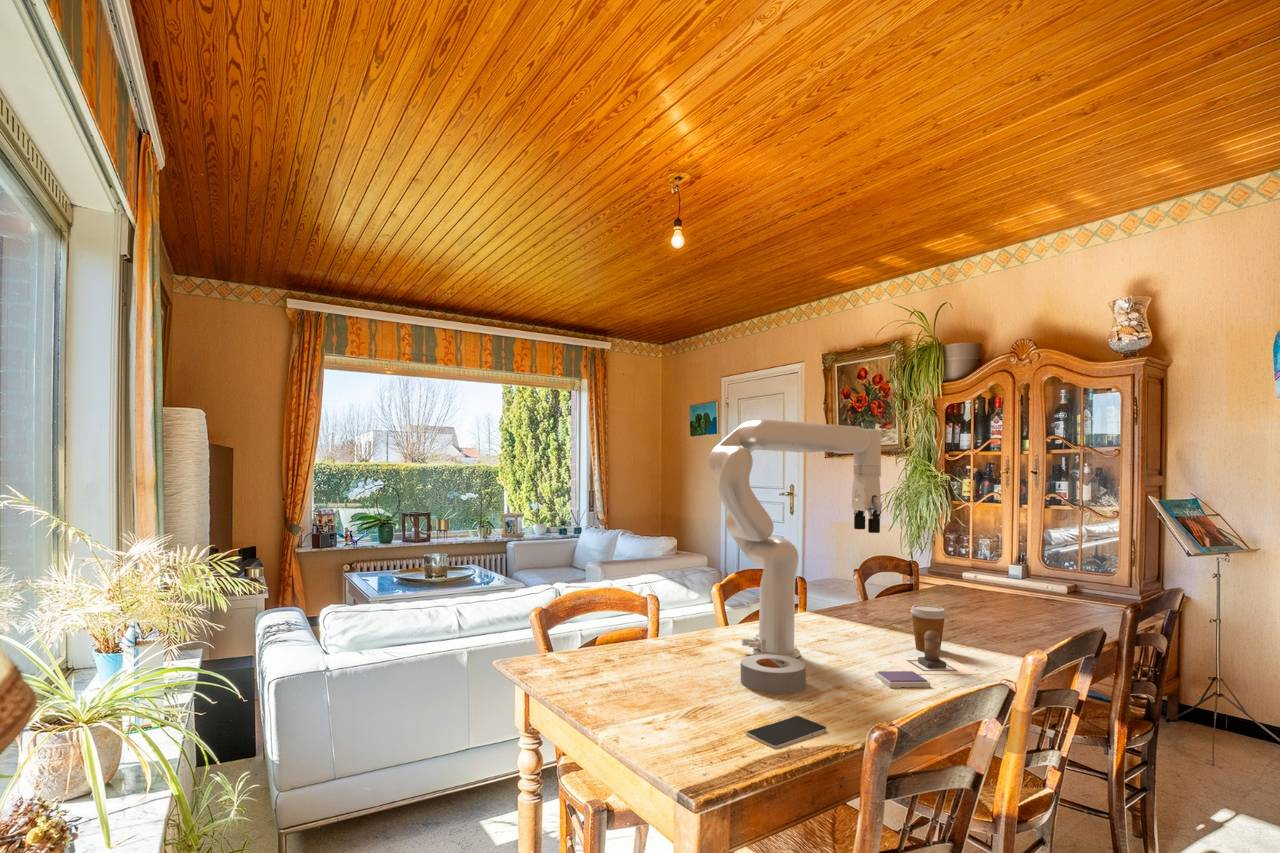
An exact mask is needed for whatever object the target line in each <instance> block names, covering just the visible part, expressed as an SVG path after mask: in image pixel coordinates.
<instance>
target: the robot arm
mask: <svg viewBox="0 0 1280 853" xmlns="http://www.w3.org/2000/svg"><path fill="white" fill-rule="evenodd" d="M756 450H757V451H759V450H760V451H771V452H772V451H775V452H776V451H777V452H791V453H821V452H822V453H824V452H828V453H830V452H833V453H834V454H846V455H847V454H853V477H854V478H853V481H852V492H851V508H852V510H853V515H854V516H853V529H854V530H866V515H865V513H866V511H867V513H868V516H869V518H868V519H867V522H868V523H867V529H868V530H867V532H868V533H869V534H879V533H881V517H882V516H881V514H882V508H883V503H882V501H881V500H882V498H881V497H882V495H881V481H880V480H881V479H880V478H881V477H882V474H881V473H882V433H881V431H880V430H879V429H875V428H863V427H861V426H857V425H856V426H855V425H844V424H830V423H829V424H826V423H825V424H824V423H817V422H816V423H815V422H807V421H806V422H805V421H804V422H803V421H791V420H790V421H789V420H778V419H765V418H764V419H761V418H760V419H754V420H747V421H745V422H742V423H741V424H740V425H739V426H738V427H737V428H735V429H734V430H733V431H731V433H730V434H728V435H727V436H726V437H725V438H724V439H723V440H721V441H720V442H719V443H718V444H717V445H715V447H714V448H713V449H712V450H711V451H710V454H709V455H708V459H707V460H708V466H709V468H710V470H711V471H712V473H713V474H715V475H718V476H720V477H719V483H718V484H719V485H718V491H719V496H720V499H721V502H722V504H723V506H724V507H725V509H726V510H727V512H728V513H727V515H726V523H725V524H726V528H727V531H728V532H729V534H730V536H731V537H732V539H733V540H734V541H735V543H736V544H737V546H738V547H739V549H740V550H741V551H742V552H741V553H743V554H744V556H745V557H746V558H747V559H748V561H749V562H750V563H751V564H753V566H755V567H757V568H760V569H763V571H762V576H761V578H760V583H759V606H758V607H759V614H758V617H759V618H758V627H759V628H758V634H755V637H752V638H741V646H742V647H748V648H753V649H752V652H753V655H760V654H771V655H781V656H787V657H792V658H796V659H798V658H799V657H800V656H801V651H800V649H799V648H796V647H795V612H796V611H795V609H796V608H795V607H796V606H795V604H796V602H795V601H796V600H795V599H796V596H795V594H796V592H795V590H796V580H797V579H796V578H797V572H798V567H799V561H800V560H799V553H798V550H797V548H796V546H795V545H794V544H793V543H792V542H791V541H789V540H788V539H785V538H783V537H782V538H781V537H778V536H773V533H774V522H773V520H772V518H771V516H770V515H769V513H768V511H767V510H766V509H765V507H764V506H763V504H762V503H761V502H760V500H759V499H758V497H757V496H756V495H755V493H754V491H753V489H752V488H751V485H750V475H751V472H752V468H753V464H754V463H753V462H754V461H753V455H752V453H753V452H754V451H756Z"/></svg>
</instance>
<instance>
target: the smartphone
mask: <svg viewBox="0 0 1280 853" xmlns="http://www.w3.org/2000/svg"><path fill="white" fill-rule="evenodd" d="M826 732H827V726H825V725H822V724H820V723H819V722H814V721H812V720H810V719H807V718H805V717H803V716H800V715H794V716H791V717H788V718H784V719H782V720H778V721H775V722H773V723H768V724H766V725H763V726H760V727H755V728H754V729H751V730H747V731H746V732H745V736H747V737H749V738H751V739H753V740H755V741H757V742H759V743H762V744H764V745H766V746H768V747H769V748H772V749H775V750H776V749H779V748H782V747H786V746H789V745H792V744H794V743H797V742H801V741H803V740H806V739H809V738H810V739H811V738H812V737H817V736H819V735H822V734H823V733H824V734H825V733H826Z"/></svg>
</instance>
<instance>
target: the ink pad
mask: <svg viewBox="0 0 1280 853" xmlns="http://www.w3.org/2000/svg"><path fill="white" fill-rule="evenodd" d="M874 677H876V679H878V680H879V681H880V682H881V683H882V684H884V685H885V686H886V685H887V686H886V687H888V688H889V689H891V688H892V689H893V688H894V689H895V688H896V689H899V688H901V687H923V688H931V682H930V681H929V680H927V679H926V678H924V677H923V676H921V675H918V674H916V673H915V672H913V671H905V670H901V671H900V670H899V671H898V670H895V671H894V670H893V671H890V670H886V671H885V670H884V671H883V670H881V671H875V672H874ZM901 689H902V688H901Z"/></svg>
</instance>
